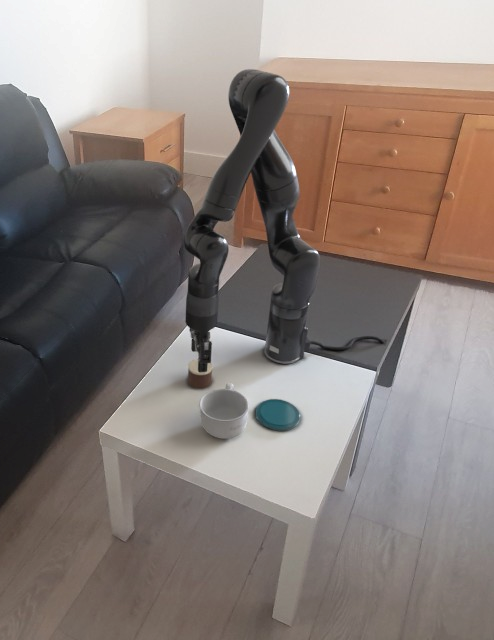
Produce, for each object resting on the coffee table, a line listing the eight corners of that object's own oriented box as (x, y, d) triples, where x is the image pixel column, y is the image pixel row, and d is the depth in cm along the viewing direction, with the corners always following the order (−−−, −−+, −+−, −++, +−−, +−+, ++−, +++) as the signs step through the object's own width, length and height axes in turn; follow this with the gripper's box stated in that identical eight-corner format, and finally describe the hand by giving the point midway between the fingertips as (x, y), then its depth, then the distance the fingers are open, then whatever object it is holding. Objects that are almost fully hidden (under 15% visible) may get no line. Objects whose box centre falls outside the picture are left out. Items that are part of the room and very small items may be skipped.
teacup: (235, 451, 132) (238, 426, 127) (191, 435, 137) (191, 410, 132) (256, 413, 141) (260, 387, 136) (214, 399, 146) (215, 374, 141)
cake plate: (291, 399, 144) (291, 396, 143) (305, 428, 136) (306, 426, 135) (250, 403, 144) (251, 400, 143) (262, 432, 136) (263, 430, 135)
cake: (208, 372, 155) (209, 357, 152) (213, 387, 150) (214, 372, 147) (185, 374, 154) (186, 359, 152) (190, 389, 150) (190, 374, 147)
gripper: (224, 322, 133) (220, 377, 142) (211, 290, 145) (207, 343, 154) (191, 325, 133) (189, 380, 142) (181, 292, 145) (179, 345, 154)
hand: (198, 360), depth 148 cm, fingers open, 8 cm apart
